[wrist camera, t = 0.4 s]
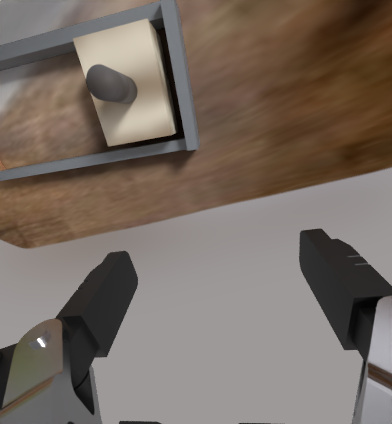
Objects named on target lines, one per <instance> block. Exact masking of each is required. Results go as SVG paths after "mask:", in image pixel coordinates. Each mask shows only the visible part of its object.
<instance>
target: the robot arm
mask: <svg viewBox="0 0 392 424" xmlns="http://www.w3.org/2000/svg"><path fill="white" fill-rule="evenodd" d="M299 255H300V256H299V261H300V267H301V271H302V273H303V275H304V277H305V278H306V281H307V282H308V284H309V286H310V288H311V290H312V292H313V294H314V295H315V297H316V299H317V301H318V302H319V304H320V306H321V308H322V310H323V312H324V314H325V315H326V317H327V319H328V321H329V323H330V325H331V327H332V328H333V330H334V332H335V334H336V335H337V337H338V339H339V341H340V343H341V345H342V347H343V348H344V350H358V351H359V353H360V355H361V356H362V358H363V363H362V368H361V374H360V379H359V385H358V390H357V396H356V402H355V408H354V413H353V419H352V424H392V286H391V285H390V284H389V283H388V282H387V281H386V280H385V279H384V278H383V277H382V276H381V275H380V274H379V273H378V272H377V271H376V270H375V269H374V268H373V267H372V266H371V265H368V262H367V261H366V260H365V259H364V258H363V257H360V254H359V253H358V252H357V251H356V250H354V249H353V247H351V246H350V245H348V244H346V243H345V242H343V241H341V240H339V239H331V238H330V237H329V236H328V235H327V234H326V233H325V232H324V231H323V230H322V229H312V230H304V231H301V232H300V253H299ZM137 285H138V277H137V274H136V271H135V269H134V266H133V264H132V261H131V259H130V256H129V254H128V253H127V252H126V251H120V252H111V253H109V254H108V255H107V256H106V258H105V259H104V260H103V262H102V263H101V264H100V265H98V266H97V267H96V268H95V269H93V270H92V271H91V272H90V273H89V275H88V276H87V277H86V279H85V280H84V282H83V283H82V284H81V285H80V286H79V288H78V290H76V292H75V293H74V294H73V296H72V297H71V298H70V300H69V301H68V302H67V303H66V305H65V306H64V307H63V309H62V310H61V311H60V312H59V314H58V315H57V316H56V318H55V319H49V320H46V321H44V322H42V323H40V324H38V325H36V326H35V327H33V328H32V329H31V330H29V331H28V332H27V333H26V334H25V335H24V336H23V337H22V338H21V340H20V341H19V342H18V343H17V344H14V345H11V346H8V347H5V348H2V349H0V424H102V421H101V416H100V410H99V403H98V396H97V390H96V384H95V376H94V371H93V367H92V366H91V364H92V361H93V359H94V358H95V357H107V355H108V353H109V351H110V348H111V346H112V344H113V341H114V339H115V337H116V335H117V332H118V330H119V327H120V325H121V323H122V321H123V318H124V316H125V314H126V312H127V309H128V307H129V305H130V302H131V300H132V298H133V295H134V293H135V291H136V289H137ZM119 424H161V423H158V422H141V421H120V422H119ZM239 424H265V423H239ZM266 424H267V423H266Z"/></svg>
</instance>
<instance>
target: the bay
mask: <svg viewBox="0 0 392 424" xmlns="http://www.w3.org/2000/svg"><path fill="white" fill-rule="evenodd" d="M143 19H148V20H149V22H150V23H151V24H152V26H153V27H154V29H155V30H159V29H162V28H165V31H166V36H167V42H168V47H169V53H170V58H171V63H172V69H173V74H174V80H175V85H176V91H177V96H178V102H179V107H180V113H181V118H182V123H183V129H184V134H185V138H179V139H174V140H168V141H162V142H157V143H151V144H145V145H140V146H134V147H129V148H123V149H117V150H112V151H106V152H101V153H95V154H89V155H84V156H78V157H73V158H67V159H61V160H56V161H50V162H45V163H39V164H33V165H28V166H22V167H17V168H11V169H5V167H4V166H3V164H2V162H1V160H0V181H3V180H9V179H15V178H21V177H27V176H33V175H38V174H44V173H50V172H56V171H62V170H68V169H74V168H80V167H86V166H91V165H97V164H103V163H109V162H115V161H121V160H127V159H133V158H139V157H144V156H150V155H156V154H162V153H168V152H174V151H180V150H186V149H187V151H190V150H196V149H198V148H199V146H200V140H199V134H198V128H197V121H196V115H195V109H194V102H193V96H192V90H191V83H190V77H189V71H188V64H187V58H186V52H185V45H184V39H183V33H182V26H181V20H180V14H179V8H178V5H177V2H176V0H160V1H158V2H155V3H151V4H147V5H144V6H140V7H137V8H133V9H130V10H126V11H122V12H119V13H115V14H112V15H108V16H104V17H101V18H97V19H94V20H90V21H87V22H83V23H79V24H76V25H72V26H69V27H65V28H61V29H58V30H54V31H51V32H47V33H44V34H40V35H36V36H33V37H29V38H26V39H22V40H18V41H15V42H11V43H8V44H4V45H1V46H0V70H4V69H8V68H12V67H16V66H20V65H23V64H27V63H31V62H35V61H39V60H43V59H47V58H51V57H54V56H58V55H62V54H66V53H70V52H74V51H77V50H76V47H75V44H74V41H73V38H76V37H80V36H84V35H88V34H91V33H95V32H99V31H102V30H106V29H110V28H114V27H117V26H121V25H125V24H128V23H132V22H136V21H140V20H143Z"/></svg>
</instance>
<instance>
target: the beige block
mask: <svg viewBox="0 0 392 424" xmlns="http://www.w3.org/2000/svg"><path fill="white" fill-rule="evenodd" d="M73 41H74V44H75V47H76V50H77V54H78V57H79V60H80V63H81V66H82V69H83V72H84V75H85V78H86V83H87V87H88V89H89V91H90V93H91V96H92V99H93V102H94V105H95V108H96V111H97V114H98V117H99V120H100V123H101V126H102V129H103V132H104V135H105V138H106V141H107V144H108V146H114V145H119V144H125V143H130V142H136V141H141V140H147V139H152V138H158V137H163V136H169V135H173V134H175V133H177V132H179V131H178V126H177V121H176V116H175V110H174V105H173V100H172V95H171V90H170V85H169V79H168V74H167V69H166V64H165V59H164V54H163V48H162V43H161V38H160V36H159V35H158V33H157V32H156V30H155V29H154V27H153V26H152V24H151V23H150V22H149V20H148V19H143V20H140V21H136V22H132V23H128V24H125V25H121V26H117V27H114V28H110V29H106V30H102V31H99V32H95V33H91V34H88V35H84V36H80V37H76V38H73Z"/></svg>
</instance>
